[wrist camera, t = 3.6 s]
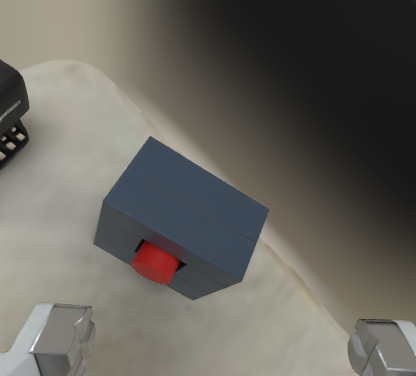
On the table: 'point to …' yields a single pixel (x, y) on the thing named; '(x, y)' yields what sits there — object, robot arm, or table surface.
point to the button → (155, 263)
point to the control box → (181, 220)
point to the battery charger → (12, 113)
